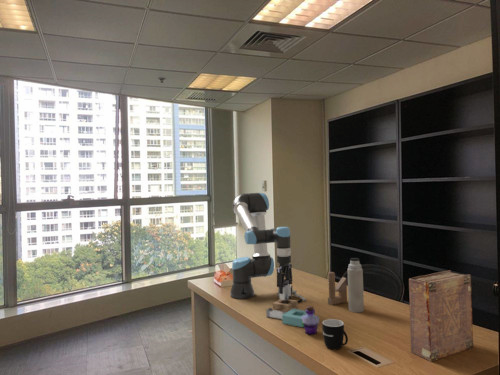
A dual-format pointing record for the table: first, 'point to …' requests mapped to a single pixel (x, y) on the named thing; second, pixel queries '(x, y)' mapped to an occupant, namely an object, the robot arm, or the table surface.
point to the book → (440, 314)
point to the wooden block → (337, 290)
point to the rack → (285, 305)
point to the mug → (334, 333)
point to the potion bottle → (310, 321)
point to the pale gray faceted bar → (274, 313)
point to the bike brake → (294, 295)
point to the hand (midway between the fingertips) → (285, 297)
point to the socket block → (294, 317)
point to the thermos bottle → (355, 286)
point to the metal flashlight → (286, 291)
